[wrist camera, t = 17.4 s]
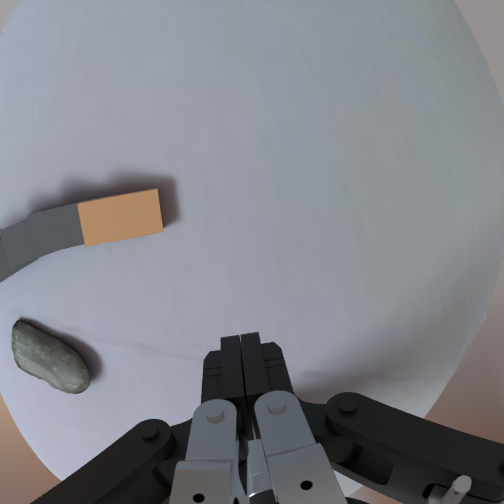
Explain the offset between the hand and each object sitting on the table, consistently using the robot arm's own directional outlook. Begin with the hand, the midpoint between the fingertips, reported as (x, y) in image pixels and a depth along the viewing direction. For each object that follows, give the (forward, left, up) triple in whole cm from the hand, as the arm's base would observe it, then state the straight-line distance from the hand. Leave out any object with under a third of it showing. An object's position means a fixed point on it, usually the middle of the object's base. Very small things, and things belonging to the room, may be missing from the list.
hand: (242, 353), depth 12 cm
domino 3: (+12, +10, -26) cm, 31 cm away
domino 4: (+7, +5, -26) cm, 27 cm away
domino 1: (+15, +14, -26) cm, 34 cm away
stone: (+7, +36, -28) cm, 46 cm away
